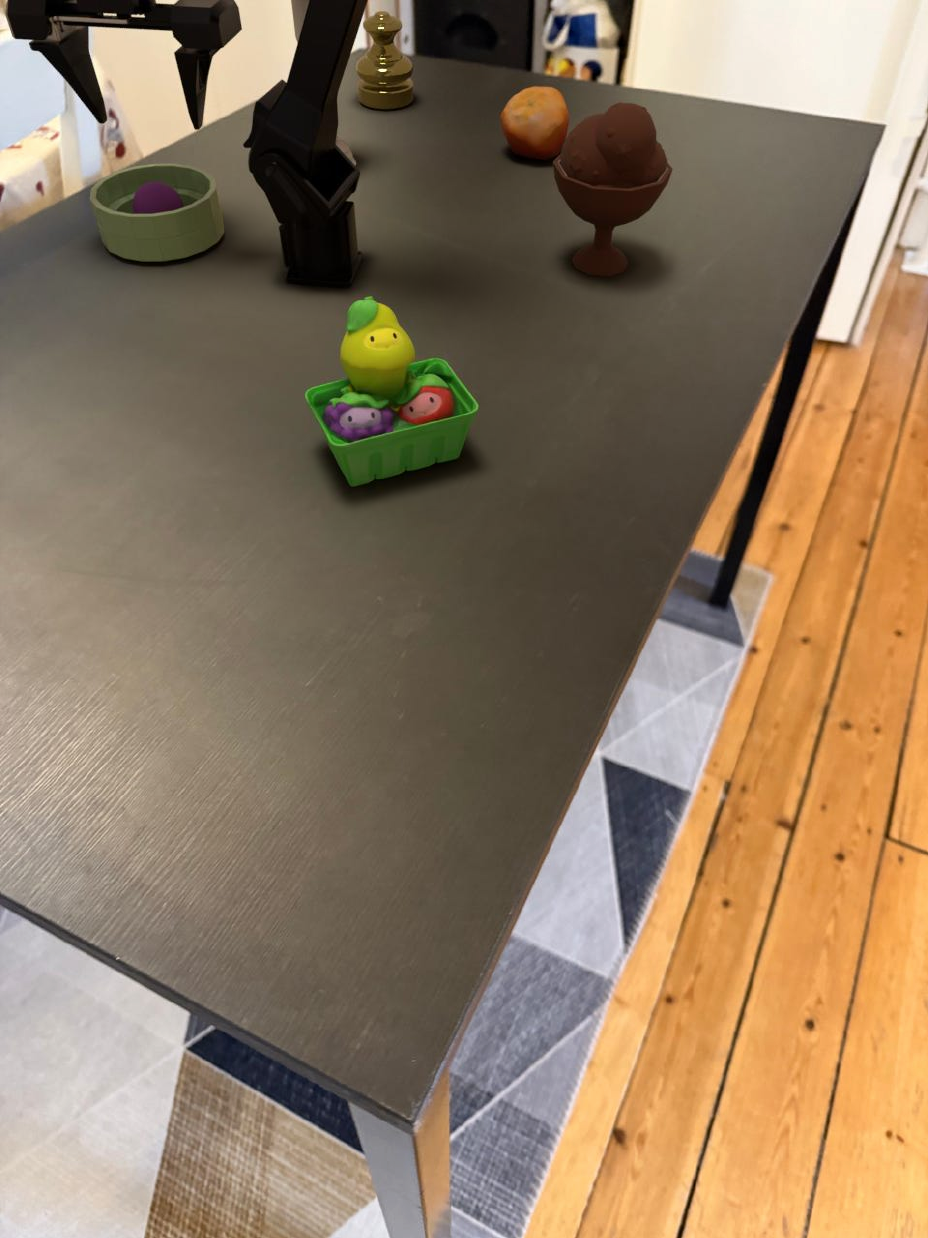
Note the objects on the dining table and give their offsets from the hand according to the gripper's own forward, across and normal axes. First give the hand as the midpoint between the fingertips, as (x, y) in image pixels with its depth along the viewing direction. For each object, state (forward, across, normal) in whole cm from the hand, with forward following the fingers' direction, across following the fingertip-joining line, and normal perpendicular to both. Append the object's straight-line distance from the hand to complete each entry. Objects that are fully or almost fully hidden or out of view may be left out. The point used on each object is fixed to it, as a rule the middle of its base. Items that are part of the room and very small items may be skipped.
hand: (150, 124), depth 82 cm
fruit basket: (+12, -28, +28) cm, 42 cm away
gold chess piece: (+12, -12, -44) cm, 48 cm away
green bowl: (+12, +2, -2) cm, 12 cm away
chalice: (+12, -10, -23) cm, 28 cm away
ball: (+9, +2, -2) cm, 9 cm away
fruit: (+12, -33, -31) cm, 47 cm away
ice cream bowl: (+12, -42, -5) cm, 44 cm away
